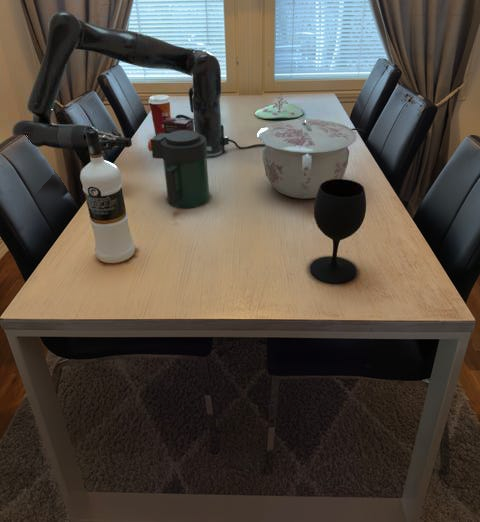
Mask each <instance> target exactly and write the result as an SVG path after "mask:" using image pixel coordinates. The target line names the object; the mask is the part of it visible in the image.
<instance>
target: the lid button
mask: <svg viewBox="0 0 480 522" xmlns="http://www.w3.org/2000/svg"><path fill="white" fill-rule="evenodd" d="M151 139H152V138H149V139H148V142H147V149H148V150H149V152H152V147H151Z"/></svg>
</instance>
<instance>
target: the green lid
mask: <svg viewBox="0 0 480 522" xmlns="http://www.w3.org/2000/svg"><path fill="white" fill-rule="evenodd" d="M279 95H280V96H278V97H277V102H275V103H274V104H270V105H267V106H265V107H262V108H260V109H258V110H256V111H255V113H254V114H255V116H256V117H257V118H259V119H270V120H271V119H296V118H299V117H301V116H302V115H304V112H303V111H302V109H301V108H300V107H298V106H296V105H295V104H292V103H290V102H287V100H284V98H283V97H281V96H282V93H280V94H279ZM283 100H284V101H283Z"/></svg>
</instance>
